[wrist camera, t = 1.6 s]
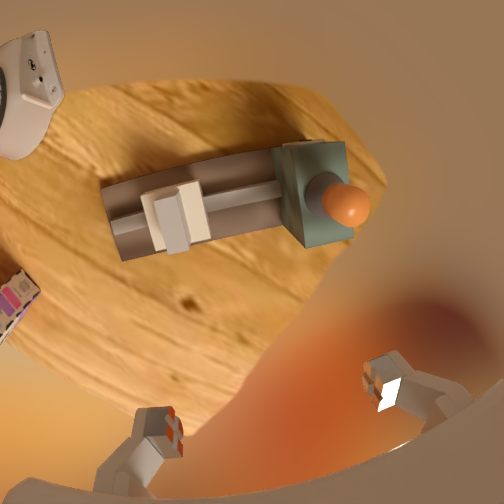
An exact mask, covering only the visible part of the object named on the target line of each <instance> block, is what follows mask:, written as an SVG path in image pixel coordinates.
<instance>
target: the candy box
mask: <svg viewBox="0 0 504 504" xmlns="http://www.w3.org/2000/svg"><path fill="white" fill-rule="evenodd" d="M40 292H41V290H40V289H39V288H38V287H37V285H36V284H35V283H34V282H33V281H32V280H31V279H30V277H29V276H28V275H27V274H26V272H25V271H24V270H23V269H21V270H19V271H18V272H17V273H16V274H15V275H14V276H12V277H11V278H10V279H9V280H8V281H7V282H6V283H4V284H3V285H2V286H1V287H0V346H1V344H2V343H3V342H4V341H5V339H6V338H7V337H8V335H9V334H10V333H11V331H12V330H13V329H14V328H15V326H16V325H17V324H18V323H19V321H20V320H21V318H22V317H23V315H24V314H25V312H26V311H27V310H28V308H29V307H30V305H31V304H32V302H33V301H34V299H35V298H36V297H37V295H38V294H39V293H40Z"/></svg>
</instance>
